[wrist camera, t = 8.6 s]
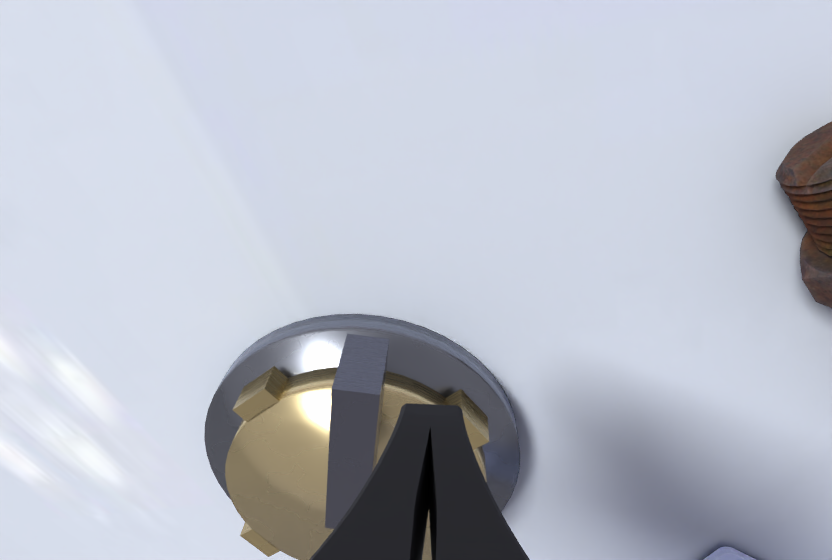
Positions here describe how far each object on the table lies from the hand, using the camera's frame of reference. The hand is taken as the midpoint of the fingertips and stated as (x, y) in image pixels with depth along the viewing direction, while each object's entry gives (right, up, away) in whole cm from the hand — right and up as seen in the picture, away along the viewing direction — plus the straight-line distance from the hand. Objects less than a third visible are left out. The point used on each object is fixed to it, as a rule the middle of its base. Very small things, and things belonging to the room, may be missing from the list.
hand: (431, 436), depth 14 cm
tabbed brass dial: (-3, -5, +12) cm, 13 cm away
